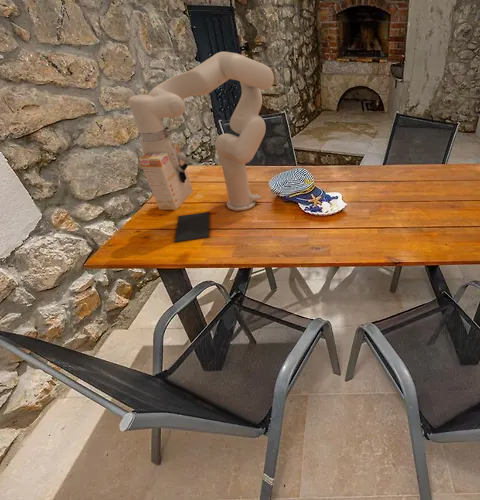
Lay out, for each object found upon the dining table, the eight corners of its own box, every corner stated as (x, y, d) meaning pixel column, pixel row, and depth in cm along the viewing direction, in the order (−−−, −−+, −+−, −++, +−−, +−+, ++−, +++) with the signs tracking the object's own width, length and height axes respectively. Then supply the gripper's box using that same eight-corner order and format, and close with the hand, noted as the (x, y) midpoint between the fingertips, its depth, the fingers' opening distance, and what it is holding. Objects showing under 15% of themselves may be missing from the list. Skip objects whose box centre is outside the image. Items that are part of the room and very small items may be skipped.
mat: (209, 212, 139) (208, 212, 139) (208, 237, 124) (208, 236, 124) (179, 216, 136) (178, 216, 136) (174, 242, 121) (174, 241, 120)
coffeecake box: (176, 191, 128) (160, 142, 116) (194, 191, 128) (179, 143, 116) (157, 209, 116) (136, 158, 104) (177, 210, 116) (158, 158, 104)
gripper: (182, 130, 112) (196, 176, 123) (127, 134, 108) (146, 181, 118) (181, 136, 107) (195, 184, 117) (122, 141, 102) (142, 190, 113)
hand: (170, 182), depth 118 cm, fingers closed on coffeecake box, 8 cm apart
